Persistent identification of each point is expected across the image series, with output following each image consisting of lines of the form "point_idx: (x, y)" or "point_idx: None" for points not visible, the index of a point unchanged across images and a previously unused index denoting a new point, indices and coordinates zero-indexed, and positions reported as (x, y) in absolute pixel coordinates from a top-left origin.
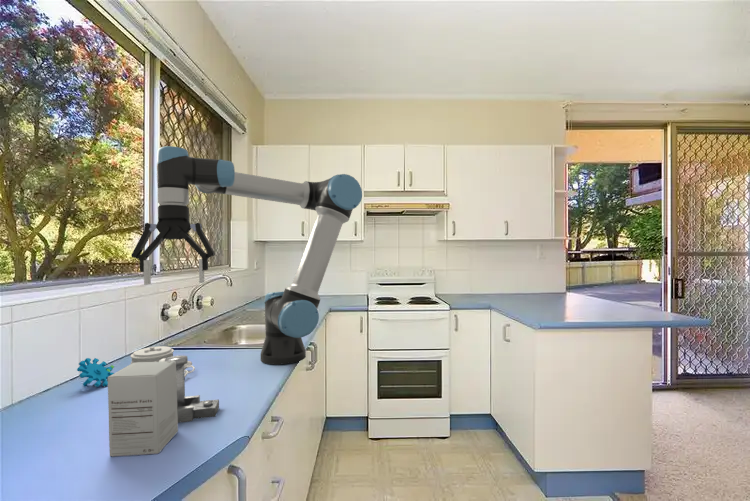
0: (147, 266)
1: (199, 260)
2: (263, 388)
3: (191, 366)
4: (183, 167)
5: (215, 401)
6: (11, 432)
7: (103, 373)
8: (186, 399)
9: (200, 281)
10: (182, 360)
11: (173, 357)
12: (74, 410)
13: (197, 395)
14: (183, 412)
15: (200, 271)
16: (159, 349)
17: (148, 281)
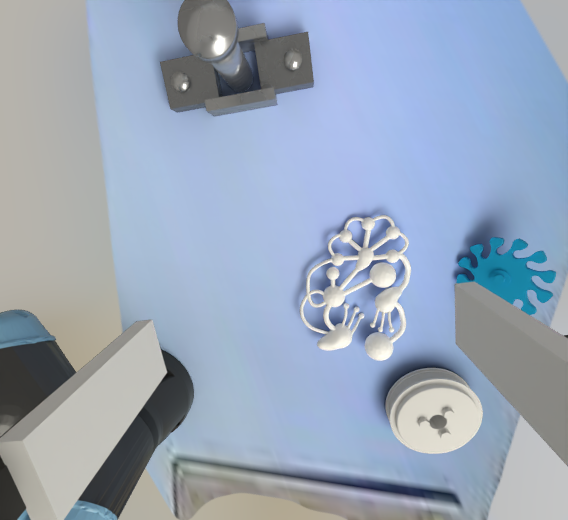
0: (544, 363)
1: (30, 428)
2: (129, 208)
3: (311, 326)
4: None
5: (173, 98)
6: (525, 25)
7: (485, 281)
8: (227, 96)
9: (141, 324)
10: (182, 8)
11: (218, 35)
12: (458, 128)
13: (210, 109)
14: None
15: (100, 361)
16: (421, 420)
17: (464, 315)
